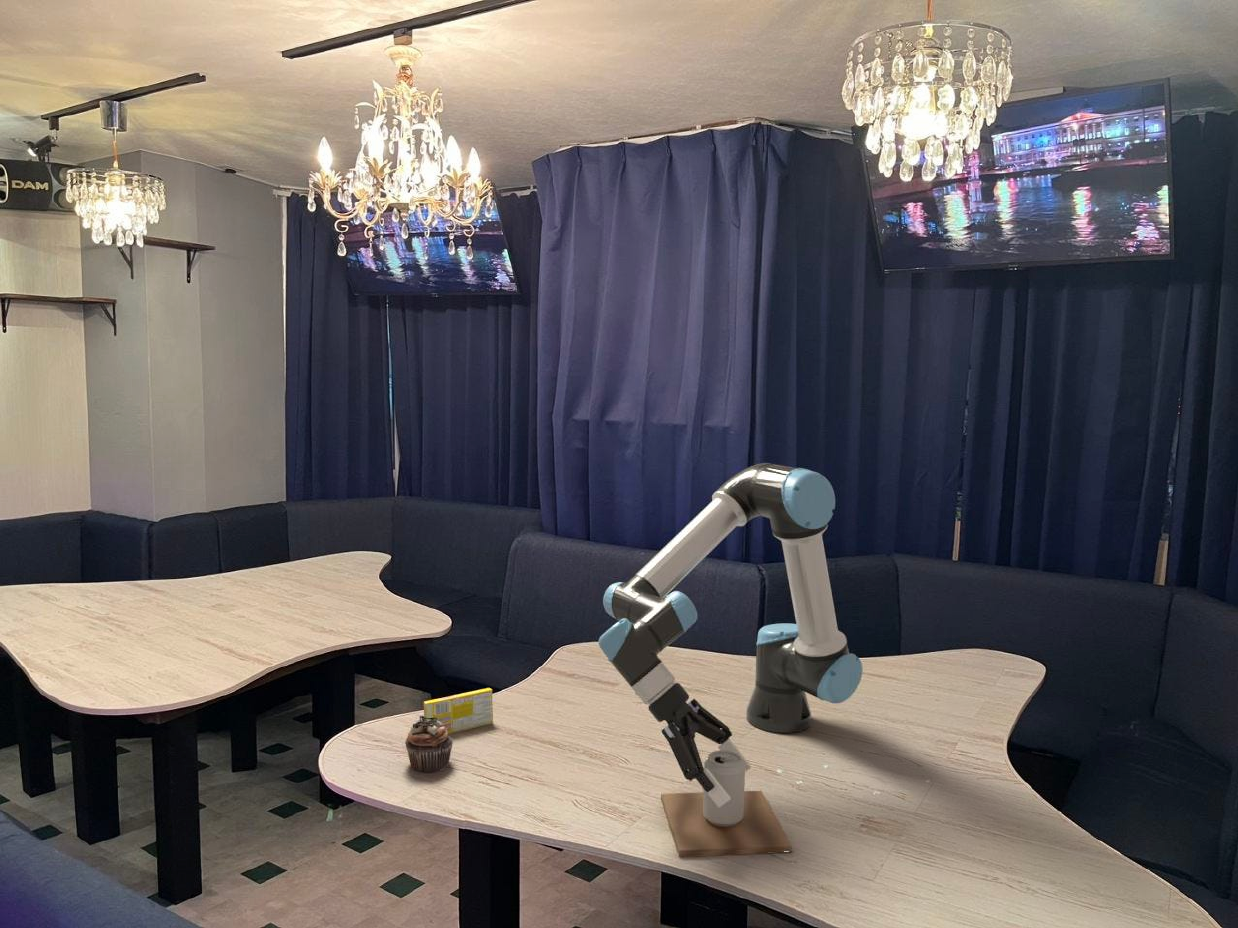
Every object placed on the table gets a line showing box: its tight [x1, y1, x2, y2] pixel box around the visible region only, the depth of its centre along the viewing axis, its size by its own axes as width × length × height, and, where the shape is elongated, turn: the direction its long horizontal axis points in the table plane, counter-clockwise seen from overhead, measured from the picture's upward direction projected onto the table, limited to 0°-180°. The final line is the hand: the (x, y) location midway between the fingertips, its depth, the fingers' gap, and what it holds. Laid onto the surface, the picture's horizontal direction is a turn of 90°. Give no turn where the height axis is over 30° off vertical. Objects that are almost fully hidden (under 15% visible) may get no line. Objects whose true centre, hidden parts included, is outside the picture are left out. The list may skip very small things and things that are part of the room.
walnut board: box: [660, 790, 793, 858], centre depth 167 cm, size 20×20×1 cm
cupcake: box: [405, 715, 454, 774], centre depth 188 cm, size 10×10×10 cm
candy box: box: [423, 687, 494, 735], centre depth 206 cm, size 16×2×8 cm, turn 123°
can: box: [702, 749, 746, 827], centre depth 167 cm, size 8×8×12 cm
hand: (736, 786), depth 166 cm, fingers open, 13 cm apart
